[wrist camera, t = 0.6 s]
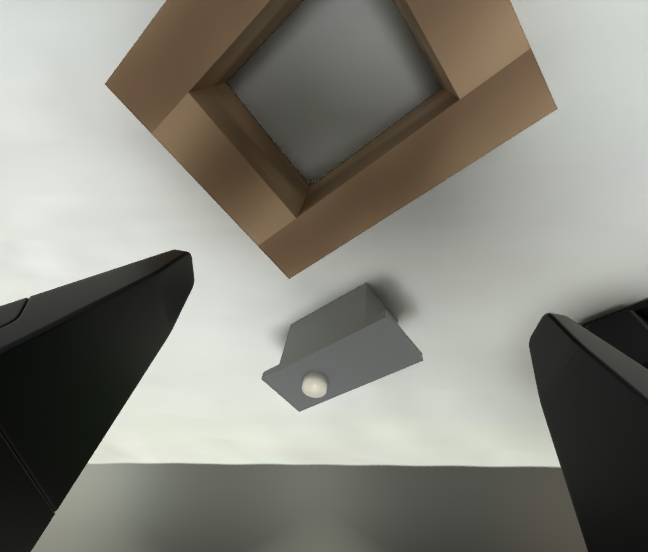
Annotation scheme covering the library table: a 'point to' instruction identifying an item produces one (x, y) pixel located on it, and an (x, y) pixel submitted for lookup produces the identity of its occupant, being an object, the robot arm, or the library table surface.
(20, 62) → the library table surface
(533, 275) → the library table surface
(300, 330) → the block
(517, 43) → the pocket plate
